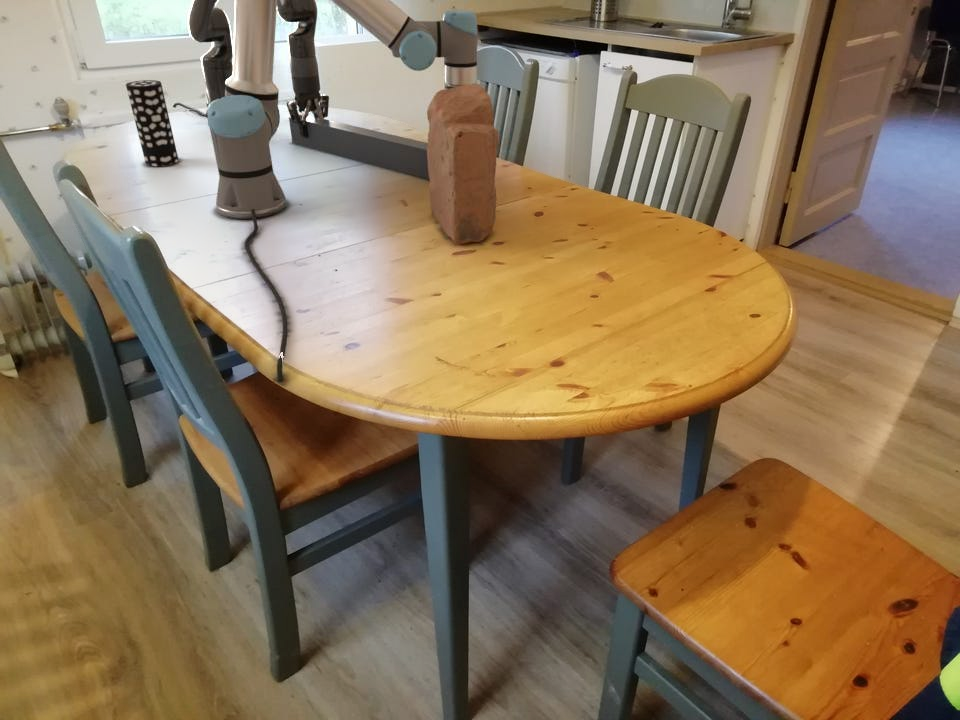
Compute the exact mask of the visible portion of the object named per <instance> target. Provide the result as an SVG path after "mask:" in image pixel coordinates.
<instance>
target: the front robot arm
mask: <svg viewBox="0 0 960 720" xmlns="http://www.w3.org/2000/svg"><path fill="white" fill-rule="evenodd" d="M330 1H331V2H332V3H333V4H335V5H336V6H337V7H338V8H339V9H340V10H341V11H343V12H344V13H346V15H348V16H349V17H350V18H352V19H353V20H354V21H355V22H356V23H358V24H359V25H360V26H361V27H362V28H364V30H366V31H367V32H368V33H370V34H371V35H372V36H374V37H375V38H376V39H377V40H378V41H379V42H381V43H382V44H383V45H385V47H387V48H388V49H389V50H390V51H391V55H392V56H393V57H394V58H398V59H400V61H402V63H403V64H404V66H406V67H407V68H408V69H410V70H412V71H417V72H421V71H424V70H425V71H426V70H427V69H429V68H430V67H431V66H432V65H433V64H434V62H435V60H436V58H444V59H443V60H444V83H445V84H446V85H445V86H444V90H445V89H451V88H453V87H456V86H461V85H464V84H478V34H479V33H478V21H477V20H478V19H477V15H476V13H474V11H471V10H467V9H466V10H465V9H454V10H451V9H450V10H446V11H445V12H444V13H443V17H442V20H437V21H435V20H414V19H413V18H412V17H410V16H409V15H408V14H407V13H406V12H405V11H403V9H401V8H400V7H399V6H398V5H397V4H395V2H393V1H392V0H330ZM233 21H234V22H233V75H232V76H231V77H230V78H228V79H227V80H226V82H225V97H222V98H221V99H216V100H214V101H213V102H212V103H211V104H210V105H209V106H208V109H206V112H207V114H208V116H207V124H208V127H209V131H210V136H211V142H212V147H213V151H214V156H215V161H216V167H217V169H218V170H217V172H218V185H217V193H216V201H215V206H216V210H217V213H218V214H219V215H221V216H223V217H225V218H229V219H236V220H252V223H253V230H252V232H251V233H250V234H249V235H248V236H247V237H246V239H245V242H244V250H245V252H246V254H247V256H248V258H249V259H250V261H251V264H252V266H253V267H254V268H255V269H256V271H257V272H258V274H259V275H260V277H261V278H262V280H263V281H264V282H265V284H266V285H267V286H268V288H269V289H270V291H271V293H272V294H273V295H274V298H275V300H276V302H277V305H278V307H279V310H280V314H281V321H282V335H281V342H280V348H279V353H278V354H279V355H280V353H281V352H283V356H284V358H283V361H284V359H285V355H286V349H287V341H288V333H289V330H288V327H289V326H288V317H287V312H286V309H285V305H284V302H283V300H282V298H281V296H280V294H279V293H278V290H277V289H276V286H274V284H273V283H272V282H271V280H270V279H269V277H268V276H267V275H266V273H265V271H263V269H262V268H261V266H260V265H259V264H258V262H257V260H256V258H255V257H254V254H253V253H252V251H251V249H250V242H251V240H252V239H253V238H254V237H255V235H256V234H257V232H258V230H259V225H258V221H257V219H260V218H261V219H262V218H265V217H266V218H267V217H270V216H274V215H276V214H278V213H280V212H282V211H283V210H285V209H286V207H287V199H286V194H285V193H284V191H283V189H282V187H281V184H280V182H279V180H278V179H277V177H276V175H275V172H274V167H273V160H272V154H271V148H270V142H271V140H272V139H273V137H274V135H275V134H276V133H277V131H278V128H279V126H280V123H281V121H280V120H281V114H280V109H279V94H280V92H279V91H280V90H279V88H278V87H277V85H276V84H275V83H274V81H273V80H274V79H273V76H274V61H275V43H276V27H277V26H276V25H277V0H234V20H233ZM279 355H278V356H279ZM278 358H279V357H278ZM278 358H277V362H276V377H277V382H278V383H282V382H284V374H283V365H282V358H281V356H280V358H279V359H278Z"/></svg>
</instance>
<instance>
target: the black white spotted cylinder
mask: <svg viewBox="0 0 960 720" xmlns="http://www.w3.org/2000/svg"><path fill="white" fill-rule="evenodd" d="M125 87H126V91H127V95H128V99H129V103H130V107H131V110H132V115H133V118H134V122H135V123H134V124H135V127H136V130H137V134H138V139H139V143H140V146H141V150H142V155H143V158H144V163H145V164H146V165H147V166H151V167H164V166H170V165H174V164H176V163H178V162H179V155H178V150H177V146H176V142H175V137H174V133H173V128H172V125H171V121H170V116H169V111H168V107H167V103H166V98H165V93H164V89H163V84H162V81H161V80H155V79H154V80H153V79H151V80H150V79H145V80H144V79H141V80H134V81H130V82H129V81H128V82H127V83H126V84H125Z"/></svg>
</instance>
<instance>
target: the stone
mask: <svg viewBox="0 0 960 720" xmlns="http://www.w3.org/2000/svg"><path fill="white" fill-rule="evenodd" d="M426 110H427V111H426V114H427V120H428V133H427V143H428V147H427V158H428V172H429V178H430V180H429V181H430V183H429V186H428V195H429V196H428V197H429V206H430V210H431V213H432V215H433V216H434V218H435V220H436V222H437V223H438V224H439V225H440V227H441V229H442V231H443V232H444V233H445V235H446V236H447V238H450V239H451V240H452V242H453V243H455V244H463V245H464V244H468V243H475V242H482V241H484V240H485V238H487V236H488V235H491V234H492V232H493V231H494V230H493V229H494V225H495V223H496V215H497V214H496V209H497V200H498V199H497V198H498V197H497V188H496V184H495V183H496V179H495V178H496V174H497V173H496V170H497V157H498V149H499V144H500V143H499V142H500V141H499V139H500V135H499V130H497V129H496V128H495V125H494V108H493V104H492V99H491V97H490V95H489V93H487V92H486V89H485V88H484V87H483V86H482V84H480V83H476V84H464V85H461V86H456V87H453V88H451V89H445V88H444V89H440V90H438V91H437V92H436V93H435V94H434V95H433V97H432V99H431V101H430V103H429V104H428V106H427V109H426Z"/></svg>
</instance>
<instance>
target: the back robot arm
mask: <svg viewBox="0 0 960 720" xmlns="http://www.w3.org/2000/svg"><path fill="white" fill-rule="evenodd" d="M218 2H219V0H192V1H191V5H190V8H189V11H188V15H187V29H188V33H189V36H190V37H191V38H192V39H193V41H195V42H196V43H199V44H210V43H211V47H210V49H209V50H208V51H206V53H204V54H203V55H202V56H201V57H200V62H201V69H202V73H203V77H204V82H205V87H206V88H205V89H206V92H205V93H206V94H205V95H206V100H207V101H206V103H205V104H206V108H207V109H208V106H209V105H210V104H211V103H212V102H213V101H214V100H216V99H221V98H222V97H225V82H226V80H227V79H228V78H230V77H231V76H232V75H233V51H234V45H233V39H232V30H231V29H232V28H231V25H230V20H229V18H228V15H227V13H226V12H225V10H224V9H222V8H220V7H216V5H217V3H218ZM276 13H277V14H278V16H279V17H280V18H281V19H282V20H283V21H284V22H286V23H289V24H294V23H297V26H296V29H295V30H293V31H292V32H290V33H288V35H287V47H288V53H289V54H288V55H289V70H290V76H291V84H292V90H293V92H294V99H293V100H292V101H287V102H286V107H287V111H288V114H289V117H291V120H292V122H293V123H297V124H298V125H299V130H300V135H301V136H302V137H303V138H308V131H307V125H305V124H306V120H307V117H308V115H309V114H310V113H312V116H313V117H317V118H322V119H325V118H328V117H329V106H330V96H329V95H327V94H321V93H320V91H321V83H320V81H321V80H320V72H319V65H318V61H317V60H318V59H317V55H316V45H315V36H316V35H315V34H316V28H317V20H318V5H317V2H316V0H277V10H276ZM177 106H180V107H182V108H184V109H187V110H190V111H193V112H195V113H198V114H199V115H201V116H202V117H208V114H207V111H206V113H204V112H202V111H201V110H199V109H197V108H195V107H192V106H188V105H186V104H183V103H181V102H175V103H173V105H172V108H176V107H177ZM207 109H206V110H207ZM302 116H303V117H302ZM309 116H310V115H309Z"/></svg>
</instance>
